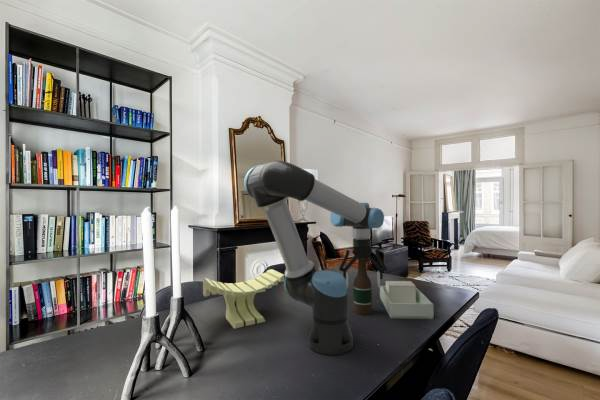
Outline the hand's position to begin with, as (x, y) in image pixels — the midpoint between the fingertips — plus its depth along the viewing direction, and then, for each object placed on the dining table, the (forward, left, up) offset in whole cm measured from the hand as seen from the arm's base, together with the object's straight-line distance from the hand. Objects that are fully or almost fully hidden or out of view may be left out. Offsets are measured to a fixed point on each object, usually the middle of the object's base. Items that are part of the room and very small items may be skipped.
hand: (363, 286), depth 128 cm
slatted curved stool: (-50, -10, -11) cm, 53 cm away
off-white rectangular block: (+19, +14, -10) cm, 25 cm away
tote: (+19, +7, -11) cm, 23 cm away
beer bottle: (0, 0, -11) cm, 11 cm away
